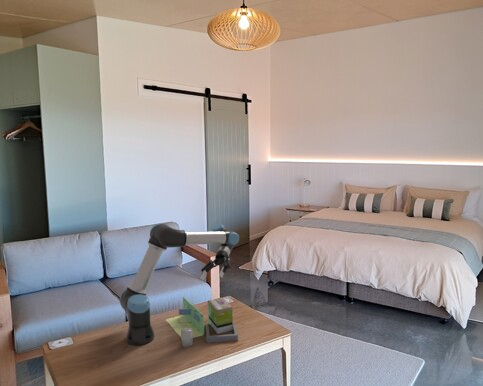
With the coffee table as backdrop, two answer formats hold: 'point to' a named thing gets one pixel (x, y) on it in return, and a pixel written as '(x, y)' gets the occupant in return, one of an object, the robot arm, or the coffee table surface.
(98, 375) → the coffee table surface
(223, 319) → the tea box
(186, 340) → the grey rounded cylinder
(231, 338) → the frame
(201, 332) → the display stand
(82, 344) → the coffee table surface
